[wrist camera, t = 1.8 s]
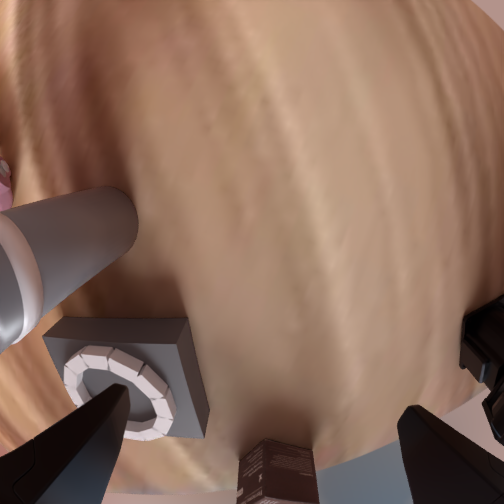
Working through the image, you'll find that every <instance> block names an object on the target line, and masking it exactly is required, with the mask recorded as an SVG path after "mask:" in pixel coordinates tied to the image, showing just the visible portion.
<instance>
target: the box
mask: <svg viewBox="0 0 504 504" xmlns="http://www.w3.org/2000/svg"><path fill="white" fill-rule="evenodd" d="M236 504H320V503H319V494H318V487H317V480H316V472H315V465H314V458H313V451H311V450H307V449H303V448H298V447H294V446H290V445H286V444H282V443H278V442H275V441H271V440H267V439H265V440H263V441H262V442H261V443H260V444H258V445H257V446H256V447H255V448H254V449H253V450H252V451H251V452H250V453H248V454H247V455H246V456H245V457H244V458H243V459H242V460H241V461H240V462H239V472H238V487H237V503H236Z"/></svg>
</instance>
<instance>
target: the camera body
mask: <svg viewBox="0 0 504 504" xmlns="http://www.w3.org/2000/svg"><path fill="white" fill-rule="evenodd" d="M42 337H43V340H44V342H45V344H46V347H47V349H48V351H49V354H50V356H51V358H52V360H53V362H54V365H55V367H56V369H57V371H58V373H59V375H60V377H61V379H62V381H63V383H64V385H65V387H66V389H67V391H68V393H69V395H70V397H71V399H72V400H73V402H74V404H75V405H76V407H77V408H79V407H80V406H82V405H83V404H85V403H86V402H88V401H89V400H90V399H92V398H93V397H95V396H96V395H98V394H99V393H101V392H102V391H103V390H105V389H106V388H108V387H109V386H111V385H112V384H114V383H118V384H122V385H126V386H127V387H128V389H129V396H130V403H131V408H130V413H129V417H128V421H127V425H126V429H125V433H124V437H123V438H128V439H134V440H141V441H145V440H147V441H149V440H153V439H156V438H160V437H163V436H172V437H184V438H200V439H204V438H205V432H206V427H207V422H208V417H209V412H210V409H209V406H208V402H207V398H206V394H205V390H204V386H203V382H202V378H201V374H200V370H199V366H198V362H197V357H196V353H195V348H194V344H193V339H192V335H191V330H190V325H189V321H188V318H82V317H62V318H61V319H60V320H59V321H58V322H57V323H56V324H55V325H54V326H53V327H51V328H50V329H49V330H48V331H47V332H46V333H45V334H44V335H43V336H42Z"/></svg>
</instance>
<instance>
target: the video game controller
mask: <svg viewBox="0 0 504 504" xmlns="http://www.w3.org/2000/svg"><path fill="white" fill-rule="evenodd" d="M10 176H11V171H10V169H9V166H8V164H7V163H6V162H5V160H4V159H3V158H2V157H0V212H1V211H4V210H7V209H11V207H12V203H13V195H12V191H11V182H10V178H9V177H10Z"/></svg>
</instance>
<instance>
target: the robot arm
mask: <svg viewBox="0 0 504 504" xmlns="http://www.w3.org/2000/svg"><path fill="white" fill-rule="evenodd" d="M459 366H460V368H461V369H465V368H467V369H468V370H469V371H470V372H471V374H472V375H473V376H474V377H475V379H476V380H477V381H478V382H479V383H483V382H484V383H485V385H486V386H487V387H488V388H489V390H490V391H491V392H490V394H489V395H488V396H487V398H485V399H484V401H483V402H482V406H483V408H484V411H485V414H486V416H487V419H488V422H489V424H490V427H491V430H492V432H493V435H494V438H495V439H496V440H497V441H498V442H499V443H501V444H502V445H503V446H504V295H502V296H501V297H499V298H497V299H495V300H494V301H492V302H490V303H488V304H487V305H485V306H483V307H481V308H479V309H478V310H476V311H474V312H472V313H470V314H468V315H467V316H465V318H464V319H463V330H462V341H461V352H460V364H459ZM130 408H131V403H130V396H129V389H128V387H127V386H126V385H122V384H118V383H114V384H112V385H111V386H109V387H108V388H106V389H105V390H103V391H102V392H101V393H99V394H98V395H96V396H95V397H93V398H92V399H90V400H89V401H88V402H86V403H85V404H83V405H82V406H80V407H79V408H77V409H76V410H74V411H73V412H71V413H70V414H68V415H67V416H66V417H64V418H63V419H61V420H60V421H58V422H57V423H55V424H54V425H52V426H51V427H49V428H48V429H46V430H45V431H43V432H42V433H40V434H39V435H37V436H36V437H34V440H33V439H31V440H29V441H28V442H26V443H25V444H23V445H21V446H20V447H18V448H16V449H15V450H13V451H11V452H9V453H7V454H5V455H4V456H1V457H0V504H101V502H102V500H103V497H104V494H105V491H106V488H107V485H108V483H109V480H110V477H111V474H112V472H113V469H114V466H115V464H116V461H117V458H118V456H119V453H120V449H121V445H122V441H123V437H124V433H125V429H126V425H127V421H128V417H129V413H130ZM397 429H398V435H399V440H400V446H401V452H402V458H403V463H404V467H405V471H406V475H407V479H408V482H409V487H410V491H411V495H412V499H413V504H504V462H503V461H502V460H500V459H498V458H497V457H495V456H494V455H492V454H491V453H489V452H487V451H486V450H485V449H483V448H481V447H480V446H479V445H477V444H476V443H474V442H472V441H471V440H470V439H468V438H467V437H465V436H464V435H462V434H460V433H459V432H458V431H456V430H455V429H453V428H452V427H451V426H449V425H448V424H446V423H445V422H443V421H442V420H440V419H439V418H438V417H436V416H435V415H433V414H432V413H430V412H429V411H427V410H426V409H425V408H423V407H422V406H420V405H410V406H408V407H407V408H406V410H405V411H404V413H403V414H402V416H401V417H400V419H399V420H398V423H397Z"/></svg>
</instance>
